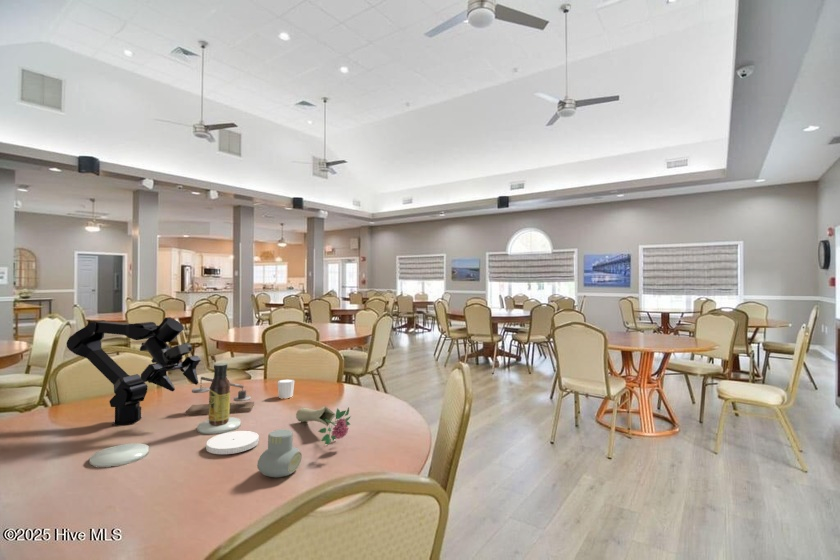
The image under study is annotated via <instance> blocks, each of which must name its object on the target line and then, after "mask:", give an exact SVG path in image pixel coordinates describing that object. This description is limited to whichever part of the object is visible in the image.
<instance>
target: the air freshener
mask: <svg viewBox="0 0 840 560" xmlns="http://www.w3.org/2000/svg"><path fill="white" fill-rule="evenodd" d="M293 439H294V438H293V431H292V430H290V429H287V428H285V429H283V428H282V429H276V430H273V431H271V432H270V433H269V434H268V437H267V449H266V450H264V451H263V452H262V453H261V454H260V456H259V458H258V460H257V462H256V463H257V464H256V466H257V469H258V471H259V472H260V474H262V475H264V476H266V477H268V478H269V477H270V478H282V477H283V478H284V477H286V476H290V475H291V474H292V473H294V472H295V471H297V469H298V468H299V466H300V464H301V462H302V458H303V457H302V456H303V454H302V452H301V451H300V450H299V448H297V447H295V446H293V445H294V444H293V443H294V442H293ZM289 474H290V475H289Z"/></svg>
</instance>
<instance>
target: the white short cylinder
mask: <svg viewBox="0 0 840 560" xmlns="http://www.w3.org/2000/svg"><path fill="white" fill-rule="evenodd" d="M294 387H295V379H291V378H288V379H285V378H284V379H280V380H278V381H277V390H278V399H279V398H289V397H292V396H293V397H294ZM293 397H292V398H293Z"/></svg>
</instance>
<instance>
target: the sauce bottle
mask: <svg viewBox="0 0 840 560" xmlns="http://www.w3.org/2000/svg"><path fill="white" fill-rule="evenodd" d="M213 370H214V371H213V372H214V373H213V378H212V379H213V381H212V382H211V383H210V386H209V388H210V390H209V391H208V392H209V394H208V395H209V396H208V404H209V414H208V420H209V424H211V425H213V426H214V425H222V424H226V423H227V422H228V421H229V417H230V413H229V410H230V403H231V390H230V389H231V386H230V383H231V382H230V380H229V379H228V377H227V376H228V375H227V373H228V371H227V370H228V363H227V362H217V363H214V364H213Z"/></svg>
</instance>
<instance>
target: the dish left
mask: <svg viewBox="0 0 840 560" xmlns="http://www.w3.org/2000/svg"><path fill="white" fill-rule="evenodd" d="M149 452H150V446H149V445H148V444H145V443H140V442H139V443H137V442H136V443H124V444H118V445H115V446H114V445H113V446H111V447H106V448H104V449H101V450H99V451H96V452H95V453H93V454H92V455H91V456H90V457H89V465H90V464H91V465H93V466H97V467H96V468H99V467H106V468H112V467H111V466H115V467H118V466H117V465H121V466H124V465H123V464H125V465H128V463H129V464H131V463H135V462H137V461H139V460H142V459H143V458H145V457H147V456H148V454H149ZM91 465H90V466H91ZM93 466H92V467H93Z"/></svg>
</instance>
